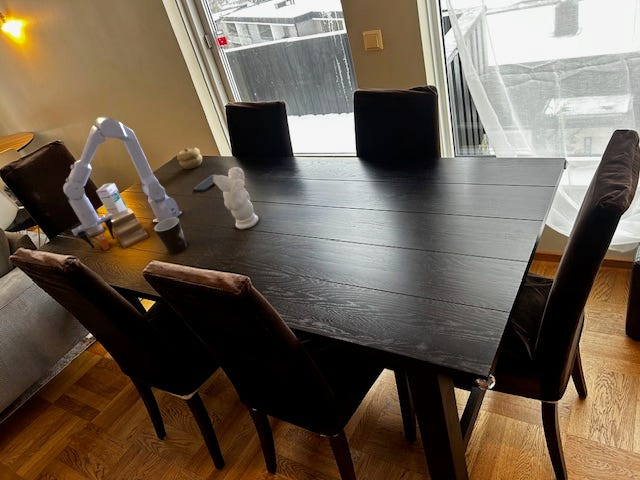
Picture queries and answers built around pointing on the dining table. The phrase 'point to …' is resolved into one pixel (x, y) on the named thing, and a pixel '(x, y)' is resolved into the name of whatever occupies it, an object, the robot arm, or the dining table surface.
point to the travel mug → (91, 231)
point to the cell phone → (205, 184)
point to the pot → (189, 158)
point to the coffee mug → (171, 235)
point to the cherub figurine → (237, 197)
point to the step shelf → (128, 228)
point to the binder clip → (103, 242)
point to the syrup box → (111, 198)
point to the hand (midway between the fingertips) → (103, 242)
